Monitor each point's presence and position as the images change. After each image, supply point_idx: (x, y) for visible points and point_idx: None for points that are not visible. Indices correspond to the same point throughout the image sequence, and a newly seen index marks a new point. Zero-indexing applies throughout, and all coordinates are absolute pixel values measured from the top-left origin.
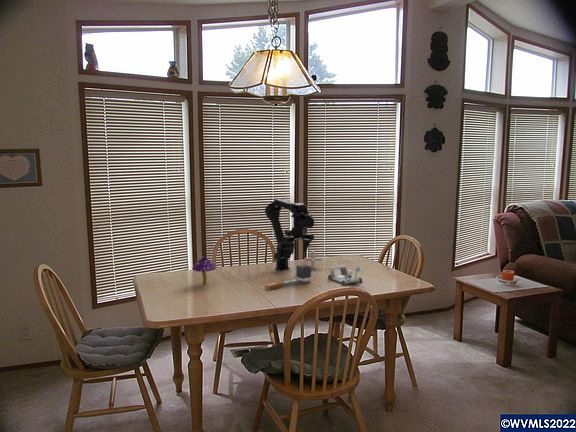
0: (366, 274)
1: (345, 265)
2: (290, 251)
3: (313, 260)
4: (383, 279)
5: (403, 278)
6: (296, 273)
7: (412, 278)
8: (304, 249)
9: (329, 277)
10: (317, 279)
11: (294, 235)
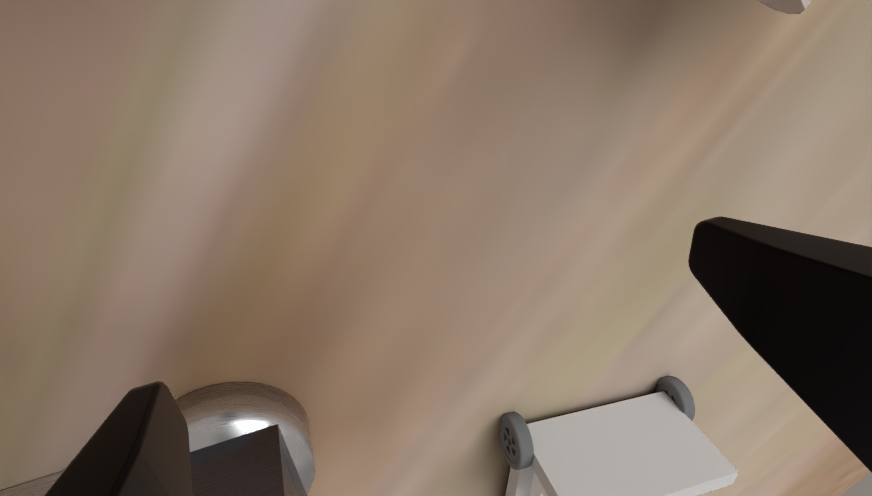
0: None
1: (734, 477)
2: (62, 479)
3: (793, 3)
4: (757, 475)
5: (830, 473)
6: None
7: (851, 478)
8: (758, 293)
9: (512, 440)
10: (411, 402)
11: None
